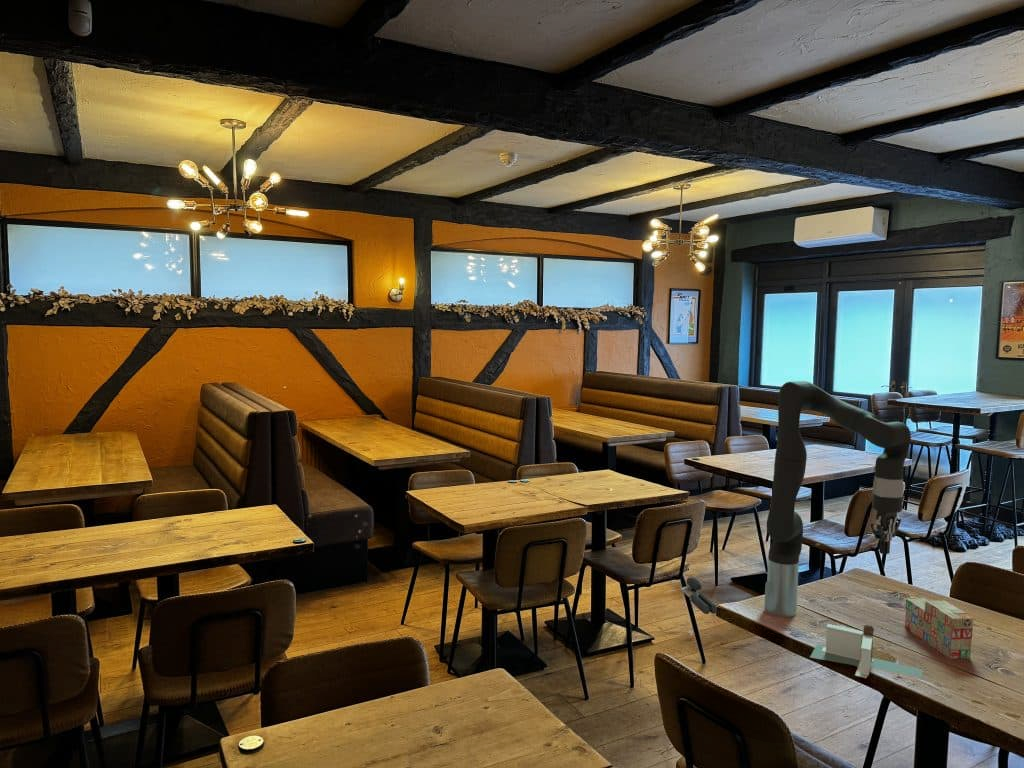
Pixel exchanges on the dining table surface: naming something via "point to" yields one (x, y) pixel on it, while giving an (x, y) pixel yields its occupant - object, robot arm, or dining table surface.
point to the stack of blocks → (940, 626)
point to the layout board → (875, 663)
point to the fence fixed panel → (844, 641)
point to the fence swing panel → (866, 654)
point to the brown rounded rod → (869, 634)
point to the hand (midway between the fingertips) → (884, 553)
